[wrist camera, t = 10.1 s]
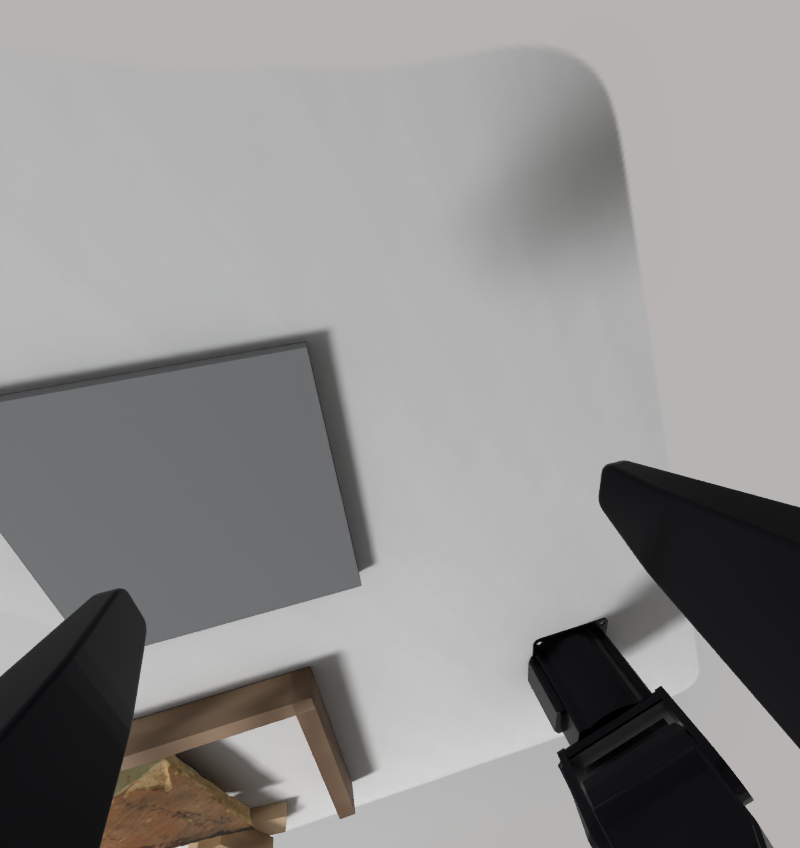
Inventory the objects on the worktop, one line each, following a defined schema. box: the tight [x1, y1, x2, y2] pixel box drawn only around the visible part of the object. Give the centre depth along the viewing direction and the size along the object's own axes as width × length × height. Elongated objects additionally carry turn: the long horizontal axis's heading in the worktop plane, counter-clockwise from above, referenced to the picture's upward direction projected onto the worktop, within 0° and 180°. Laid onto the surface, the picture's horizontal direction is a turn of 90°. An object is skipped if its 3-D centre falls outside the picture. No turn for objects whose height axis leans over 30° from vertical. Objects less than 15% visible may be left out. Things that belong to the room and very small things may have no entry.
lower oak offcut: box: [189, 801, 287, 848], centre depth 32 cm, size 7×2×2 cm, turn 81°
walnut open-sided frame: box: [120, 667, 355, 819], centre depth 27 cm, size 17×16×2 cm
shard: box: [100, 754, 255, 848], centre depth 26 cm, size 11×8×2 cm
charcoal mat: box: [0, 342, 361, 646], centre depth 19 cm, size 14×14×1 cm
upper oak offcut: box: [197, 830, 273, 848], centre depth 30 cm, size 6×2×2 cm, turn 28°
